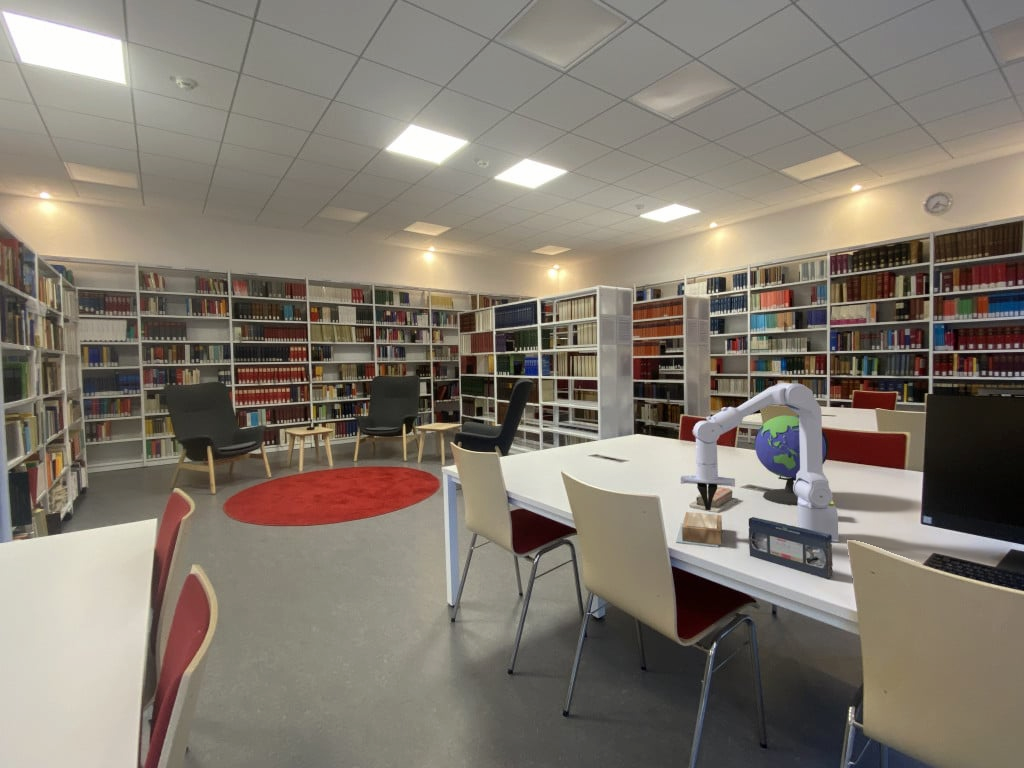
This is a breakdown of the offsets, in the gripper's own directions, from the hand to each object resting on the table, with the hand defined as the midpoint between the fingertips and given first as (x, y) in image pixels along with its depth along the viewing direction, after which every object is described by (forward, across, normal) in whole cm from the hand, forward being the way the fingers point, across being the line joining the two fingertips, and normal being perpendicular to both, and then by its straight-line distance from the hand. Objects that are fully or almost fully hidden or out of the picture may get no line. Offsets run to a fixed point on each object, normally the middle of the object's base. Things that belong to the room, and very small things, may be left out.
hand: (708, 509), depth 137 cm
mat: (+8, +3, 0) cm, 8 cm away
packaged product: (+9, 0, -33) cm, 34 cm away
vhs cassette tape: (+8, -19, +15) cm, 25 cm away
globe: (+8, -25, -47) cm, 54 cm away
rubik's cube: (+8, -32, -27) cm, 43 cm away
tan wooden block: (+6, -3, 0) cm, 6 cm away
